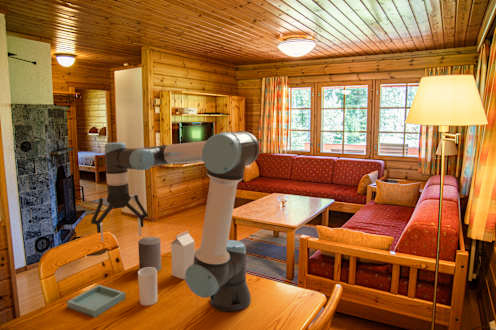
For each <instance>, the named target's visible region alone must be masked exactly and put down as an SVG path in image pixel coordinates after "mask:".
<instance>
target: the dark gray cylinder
mask: <svg viewBox="0 0 496 330" xmlns="http://www.w3.org/2000/svg"><path fill="white" fill-rule="evenodd" d="M137 242H138V243H137V244H138V264H139V270H140V269H143V268H146V267H153V268H156V269H157V273H158V272H159V271H160V270H161V269H162V254H161V253H162V252H161V250H162V249H161V248H162V247H161V238H159V237H158V236H145V237H143V238H140V239H139V240H138V241H137ZM139 270H138V271H139Z"/></svg>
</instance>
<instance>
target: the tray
mask: <svg viewBox="0 0 496 330" xmlns="http://www.w3.org/2000/svg"><path fill="white" fill-rule="evenodd" d="M125 299H126V293H125V292H124V291H121V290H118V289H115V288H112V287H111V288H110V287H107V286H104V285H101V284H98V285H96V286H94V287H92V288H90V289H88V290H86V291H85V292H83V293H81V294H79V295H77V296H74V297H73V298H71V299H69V300H67V301H66V304H67V309H70V310H73V311H76V312H79V313H81V314H84V315H86V316H90V317H92V318H96V317H98V316H99V315H100V314H103V313H104V312H106V311H107V310H109V309H111V308H112V307H114V306H115V305H117V304H119V303H120V302H122V301H124V300H125Z"/></svg>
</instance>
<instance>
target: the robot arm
mask: <svg viewBox="0 0 496 330" xmlns="http://www.w3.org/2000/svg"><path fill="white" fill-rule="evenodd" d="M259 154H260V143H259V140H258V139H257V138H256V136H255V135H254V134H253V133H250V132H249V131H244V130H238V131H229V132H228V131H222V132H220V133H216V134H213V135H212V136H210V137H209V138H207V140H204V141H203V140H201V141H192V142H184V143H183V142H182V143H173V144H172V143H171V144H162V145H161V144H160V145H156V146H147V147H146V146H145V147H138V148H136V147H135V148H129V147H128V148H127V145H126V143H125V142H119V141H118V142H107V143H106V144H105V145H104V161H105V174H106V184H107V187H106V188H107V197H98V205H97V206H96V209H95V211H94V213H93V216H92V218H91V220H90V223H91V224H92V225H96V230H97V231H96V232H97V234H100V239H101V240H100V241H101V243H102V242H104V230H103V229H104V228H103V221H104V219H105V218H106V217H107V215H108V214H109V213H110V212H111V211H112V210H113V209H115V210H116V209H119V208H121V209H124V208H126V207H127V208H128V209H129V210H130V211H131V212H132V213H133V214H134V215H135V216H137V232H138V233H137V234H138V237H142V228H143V227H144V224H145V223H144V219H145V218H148V217H149V215H148V212H147V211H146V209H145V208H144V207H143V205H142V203H141V202H140V200H139V195H138V194H137V193H135V194H131V195H130V189H129V184H128V182H129V174H128V172H129V171H128V170H137V171H145V170H146V171H148V170H150V169H151V168H153V167H157V166H163V165H164V166H165V165H166V166H167V165H177V164H190V163H192V164H193V163H195V164H196V163H204V167H205V168H206V172H205V173H206V175H207V176H208V178H209V179H210V180H209V187H208V192H207V193H208V194H207V200H206V207H205V213H204V222H203V227H202V233H201V241H200V246H199V247H198V248H196V249H195V255H194V262H193V265H190V266H189V267H188V269H187V270H186V273H185V283H186V284H187V287H188V288H189V289H190V291H191V292H192V293H193V294H194V295H196V296H197V297H200V298H203V299H204V298H210V299H209V300H210V305H211V307H212V308H214V309H215V310H216V311H219V312H225V313H234V312H235V313H236V312H239V311H243V310H245V309H246V308H248V307H249V306H250V304H251V300H252V299H251V298H252V297H251V292H250V290H249V286H248V283H247V251H246V250H247V249H246V245H245V244H244V243H243V242H242V241H239V240H236V239H235V240H234V239H229V237H230V231H231V225H232V219H233V218H232V217H233V213H234V212H233V211H234V207H235V201H236V200H235V199H236V194H237V188H238V183H239V182H241V181H243V179H244V176H245V169H246V167H247V166H250V165H252V164H253V163H254V162H255V161H256V160H257V159H258V157H259ZM131 200H133V201H135V203H136V204H137V206H138V208H139V210H140V211H141V212H142V214H141V213H140V212H139V211H138V210H137V209H136V208H135V207H134V206H133V205H132V204H131V203H130V201H131ZM106 202H107V203H108V205H107V207H106V209H104V211H103V213H102V214H101V215H100V217H98V216H99V214H100V212H101V210H102V207H103V206H104V204H105V203H106Z"/></svg>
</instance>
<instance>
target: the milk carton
mask: <svg viewBox="0 0 496 330" xmlns="http://www.w3.org/2000/svg"><path fill="white" fill-rule="evenodd" d="M170 244H171V246H170V250H171V251H170V253H171V274H172V275H171V276H173V277H176V278H178V279H182V280H185V273H186V270H187V269H188V267H189V266H190V265H193V262H194V255H195V251H196V249H195V247H196V246H195V239H194V238H193V237H192V236H191V234H190V232H189V230H187V231H183V232H181V233H179V234H177V235H176V237H175V239H174V240H173V241H172V242H171V243H170ZM185 281H186V280H185Z"/></svg>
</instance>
